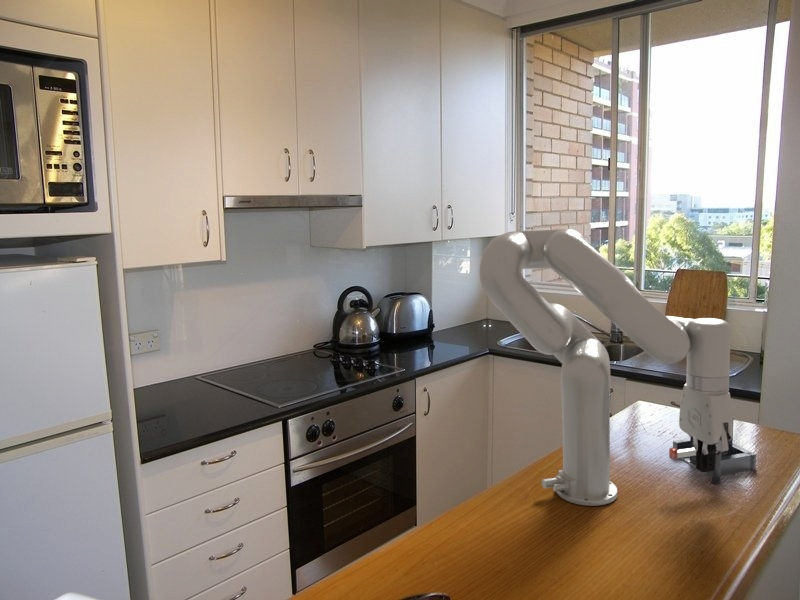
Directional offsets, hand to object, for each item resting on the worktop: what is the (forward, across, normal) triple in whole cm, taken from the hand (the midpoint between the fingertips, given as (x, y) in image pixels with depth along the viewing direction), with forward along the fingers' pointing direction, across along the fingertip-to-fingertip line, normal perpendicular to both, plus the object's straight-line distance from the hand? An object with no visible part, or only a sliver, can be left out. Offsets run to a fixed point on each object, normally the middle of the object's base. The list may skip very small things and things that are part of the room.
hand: (705, 470), depth 124 cm
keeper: (+7, -14, +14) cm, 21 cm away
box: (+7, -16, +14) cm, 22 cm away
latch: (0, -7, +3) cm, 8 cm away
